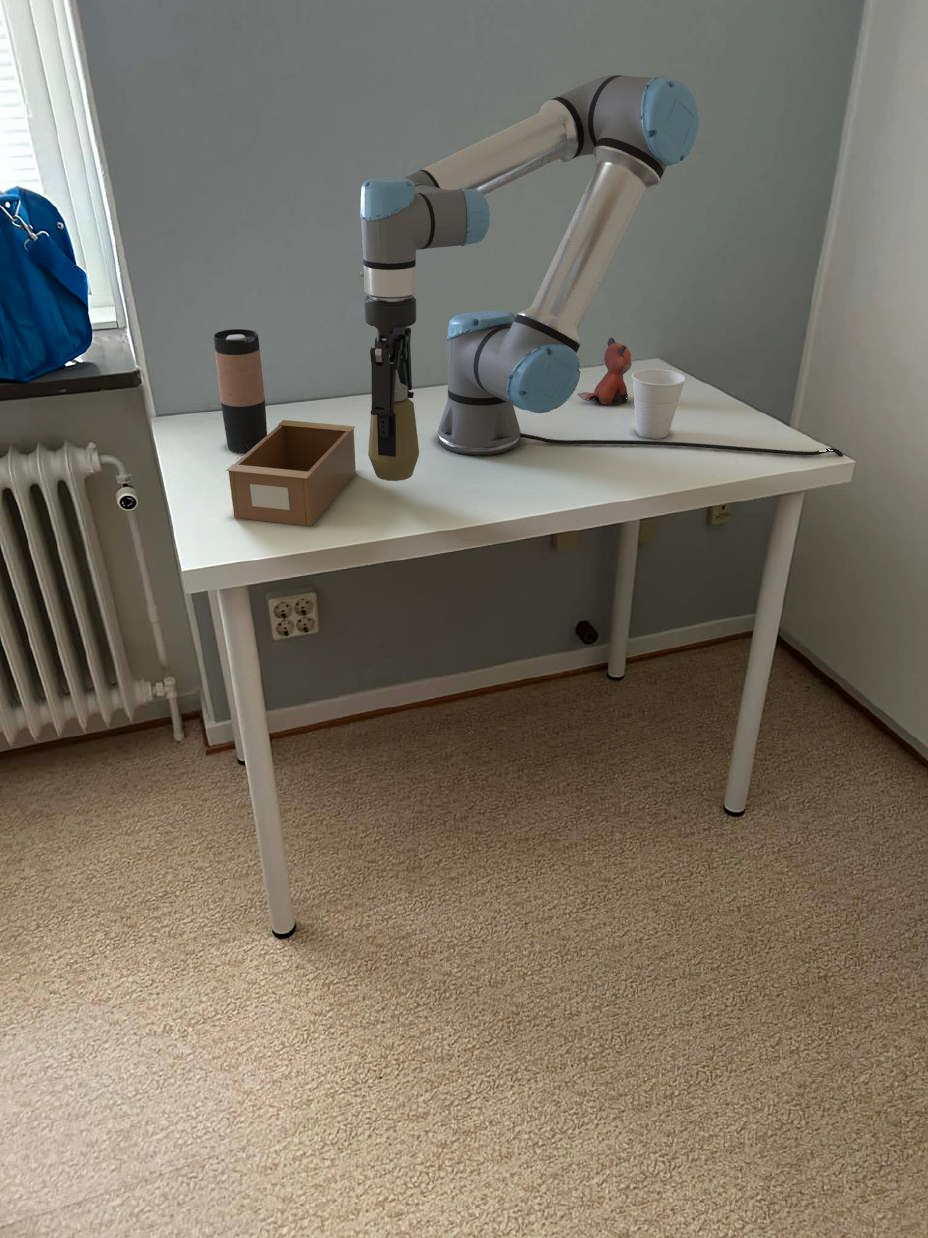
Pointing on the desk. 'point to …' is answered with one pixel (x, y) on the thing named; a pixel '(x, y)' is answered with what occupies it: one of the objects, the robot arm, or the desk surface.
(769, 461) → the desk surface
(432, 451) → the desk surface
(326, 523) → the desk surface
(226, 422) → the travel mug
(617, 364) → the stuffed fox
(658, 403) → the cup
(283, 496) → the wooden box
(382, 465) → the squeeze bottle
